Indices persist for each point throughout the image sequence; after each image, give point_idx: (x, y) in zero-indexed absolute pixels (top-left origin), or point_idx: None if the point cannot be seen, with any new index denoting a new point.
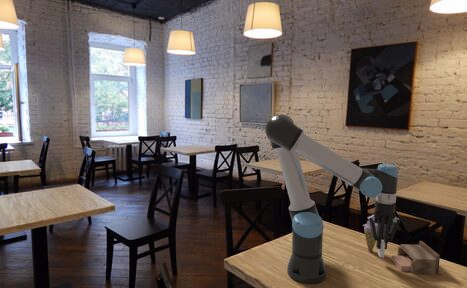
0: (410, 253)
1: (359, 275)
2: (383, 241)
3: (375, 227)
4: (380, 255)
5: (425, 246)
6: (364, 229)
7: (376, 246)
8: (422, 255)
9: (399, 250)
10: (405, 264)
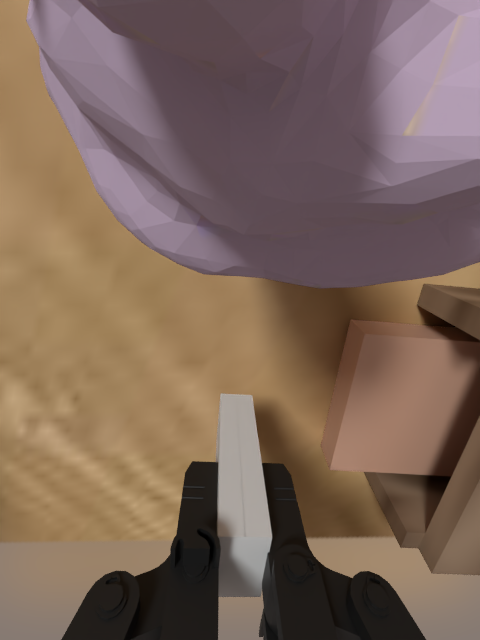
0: (468, 508)
1: (53, 487)
2: (257, 571)
3: (371, 281)
4: (216, 451)
5: None
6: None
7: (185, 474)
8: None
9: (471, 334)
10: (373, 453)
